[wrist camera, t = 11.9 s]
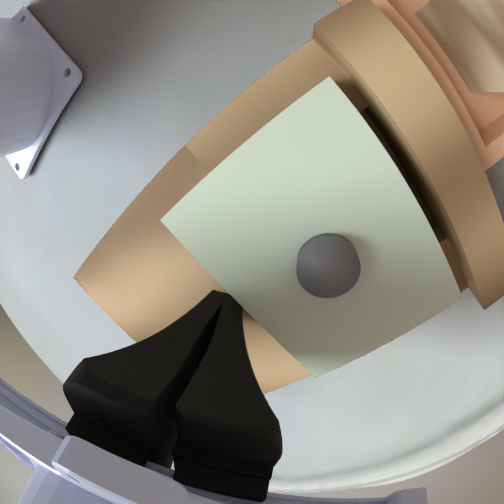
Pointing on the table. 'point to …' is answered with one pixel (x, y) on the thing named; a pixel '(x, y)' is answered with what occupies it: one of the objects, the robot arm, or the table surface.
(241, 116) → the wooden compartment box
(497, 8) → the beech block
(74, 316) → the table surface
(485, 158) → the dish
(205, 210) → the cover
